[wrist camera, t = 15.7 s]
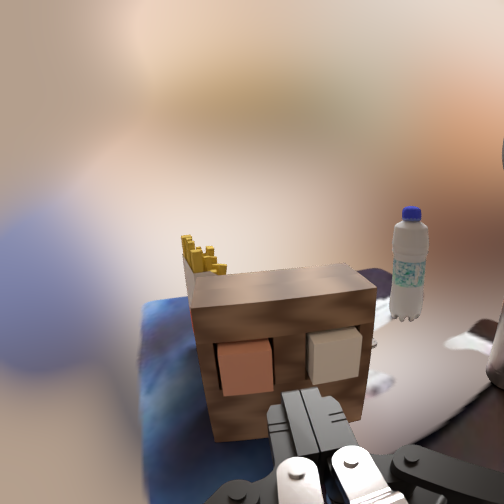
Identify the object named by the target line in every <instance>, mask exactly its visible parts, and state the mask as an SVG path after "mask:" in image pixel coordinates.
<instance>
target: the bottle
mask: <svg viewBox="0 0 504 504" xmlns="http://www.w3.org/2000/svg"><path fill="white" fill-rule="evenodd" d="M402 219H403V221H402V222H399V223H397V224H396V225H395V227H394V234H393V241H392V245H393V249H392V251H393V254H394V261H393V262H394V263H393V278H392V288H391V295H390V302H389V309H390V312H391V316H392V317H393V318H394V319H397V317H398V316H399V319H400V321H404V319H405V318H406V317H409V321H410V322H411V321H413V320H414V319H415V318H418V317H419V316H420V313H421V310H422V303H423V286H424V277H425V265H426V256H427V254H428V247H429V238H428V227H427V226H426V225H424V224H423V223H422V222H420V220H421V210H420V209H419V208H418V207H414V206H408V207H405V208H404V209H403V211H402Z"/></svg>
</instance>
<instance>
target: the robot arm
mask: <svg viewBox="0 0 504 504" xmlns="http://www.w3.org/2000/svg"><path fill="white" fill-rule="evenodd" d="M502 162H503V169H504V141H503V148H502ZM486 374H487V376H488V378H489V380H490V381H491V382H492V383H493V384H495V385H496V386H497V387H499V388H501V389H503V390H504V299H503V304H502V309H501V314H500V318H499V322H498V326H497V331H496V334H495V338H494V342H493V346H492V349H491V353H490V356H489V360H488V363H487V366H486ZM267 426H268V438H269V444H270V449H271V455H272V461H273V466H274V469H273V471H272V472H271V473H270V474H269V475H268V476H266V477H265V478H263V479H261V480H258V481H256V482H253V483H251V482H249V481H246V480H240V479H239V480H231V481H228V482H226V483H225V484H223V485H222V486H221V487H220V488H219V489H218V490H217V491H216V492H215V493H214V494H213V495H212V496H211V497H210V498H209V499H208V500H207V501H206V502H205V503H204V504H324V501H323V496H322V491H321V486H320V485H322V484H325V487H326V490H327V494H326V500H327V503H328V504H504V473H502V472H499V471H495V470H491V469H488V468H484V467H481V466H478V465H474V464H471V463H468V462H465V461H461V460H458V459H455V458H452V457H449V456H446V455H443V454H440V453H438V452H435V451H432V450H429V449H426V448H424V447H421V446H418V445H405V446H402V447H400V448H399V449H398V450H397V451H396V452H395V453H394V454H391V455H374V454H370V453H368V452H367V451H366V450H364V449H363V448H361V447H360V446H359V445H358V443H357V440H356V438H355V436H354V434H353V432H352V430H351V428H350V425H349V423H348V421H347V420H346V417H345V414H344V413H343V410H342V408H341V406H340V404H339V402H338V401H336V400H335V399H334V398H333V397H331V396H327V397H321V395H320V392H319V390H318V388H317V387H310V388H304V389H299V390H292V391H285V392H281V404H279V405H271V406H270V407H269V410H268V412H267Z"/></svg>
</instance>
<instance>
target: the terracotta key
mask: <svg viewBox="0 0 504 504" xmlns="http://www.w3.org/2000/svg"><path fill="white" fill-rule="evenodd" d="M218 361H219V368H220V375H221V382H222V388H223V395H224V396H234V395H245V394H254V393H263V392H271V391H273V368H272V350H271V346H270V343H269V340H268V338H261V339H252V340H242V341H232V342H221V343H218Z"/></svg>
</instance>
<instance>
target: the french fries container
mask: <svg viewBox="0 0 504 504" xmlns="http://www.w3.org/2000/svg"><path fill="white" fill-rule="evenodd" d="M181 239H182V247H183V254H182V255H183V263H184V271H185V279H186V286H187V293H188V300H189V307H191V302H192V297H193V292H194V288H195V283H196V278H197V277H205V276H217V275H226V270H227V265H226V264H217V257H215V256H214V248H213V246H206V253H203V252H202V250H201V247H196V250H195V244H194V241H192V236H191V235H184V236H181ZM190 314H191V309H190ZM191 320H192V316H191ZM192 327H193V322H192ZM193 331H194V329H193Z"/></svg>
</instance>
